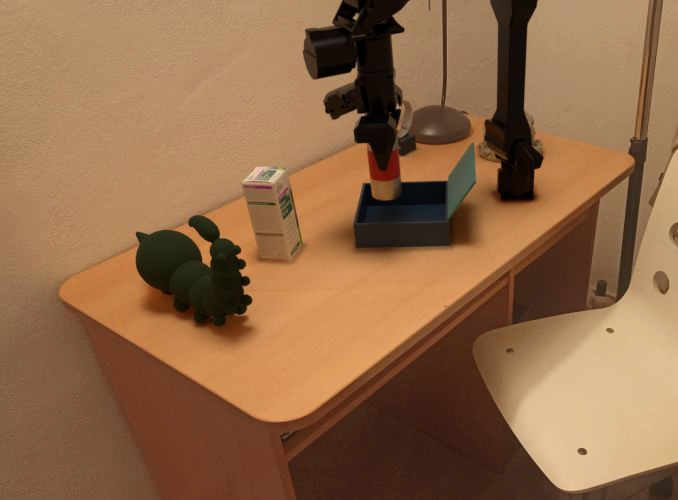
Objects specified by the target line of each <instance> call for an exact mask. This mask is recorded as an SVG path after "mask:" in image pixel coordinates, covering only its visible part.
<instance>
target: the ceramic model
mask: <svg viewBox="0 0 678 500" xmlns="http://www.w3.org/2000/svg"><path fill="white" fill-rule="evenodd" d="M495 112H496V109H494V110H493V112H492V113H491V114H490V115H489V116H488V117H487V118H486V119H492V117H493V115H494V113H495ZM524 112H525V115H526V117H527V120H528V123H529V125H530V128H531V136H532V147H533V148H535V149H536V150H537V151H538V152H539V153H540V154H541V155H542V152H543V145H544V144H543V141H542V139H540V138H537V139H535V135H537V130H536V128H535V127H534V125H535V120H534V118H533V115H531V114H529V113H528V112H527V111H526V110H525V109H524ZM485 132H486V131H485V120H484V121H483V127H482V137H483V138H484V137H485ZM478 146H479V148H480V149H479V154H480V156H481V157H482V158H483V159H485V160H487V161H491V162H495V163H497V162H499V163H501V161H500V160H499V159H496V158H495V155H494V152H492V151H491V150H490V149H489V148H488V146H487V142H486V141H484V140H483V141H481V142H480V143H479V145H478Z"/></svg>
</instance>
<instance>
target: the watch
mask: <svg viewBox="0 0 678 500" xmlns="http://www.w3.org/2000/svg"><path fill="white" fill-rule="evenodd" d="M402 105H403V106H404V112H403V116H400V119H399V121H400V120H401V119H402V120H401V123H400V129H399V130H398V132H397V135H398V146H399V156H405V155H407V154H409V153H411V152H413V151H415V150H417V142H416V134H412V133H409V131H410V130H411V127H412V124H413V119H414V111H413V110H414V109H413V105H412V103H411V102H410V101H409V100H408V99H404V98H403V103H402ZM397 109H401V106H398V104H397Z"/></svg>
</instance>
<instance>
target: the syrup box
mask: <svg viewBox="0 0 678 500" xmlns="http://www.w3.org/2000/svg"><path fill="white" fill-rule="evenodd" d="M240 184H241V188H242V192H243V195H244V199H245V203H246V207H247V211H248V216H249V219H250V223H251V227H252V230H253V234H254V238H255V242H256V247H257V250H258V253H259V257H260V259H261V260H264V259H274V260H275V259H277V260H287V261H291V260H292V259H293V257H294V256H295V255H296V254H297V253H298V251H299V250H300V248H301V247H302V246H303V244H304V242H303V238H302V232H301V228H300V224H299V218H298V213H297V209H296V203H295V200H294V199H295V198H294V194H293V189H292V185H291V180H290V175H289V170H288V168H286V167H279V166H255V167H254V170H253V171H251V172H250V173H249V174H248V175H247V176H246V177H245V178H244V179H243V180H242V181H240Z"/></svg>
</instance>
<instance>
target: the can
mask: <svg viewBox="0 0 678 500" xmlns="http://www.w3.org/2000/svg"><path fill="white" fill-rule="evenodd" d="M365 145H366V155H367V162H368V171H369V173H368V174H369V180H370V183H371V190H372V196H373V197H374V198H375V199H378V200H384V201H386V200H393V199H396V198H398V197H400V196H401V195H402V185H401V182H402V174H401V173H402V172H401V159H400V158H401V157H400V155H399V146H398V135H397V137H396V141H395V143H394V147H393V150H392V153H391V156H390V160H389V163H388V166H387V170H386V171H380V170H379V168H378V165H377V162H376V160H375V157H374V154H373V152H372V149H371V147H370V145H369V144H368V143H365Z"/></svg>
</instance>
